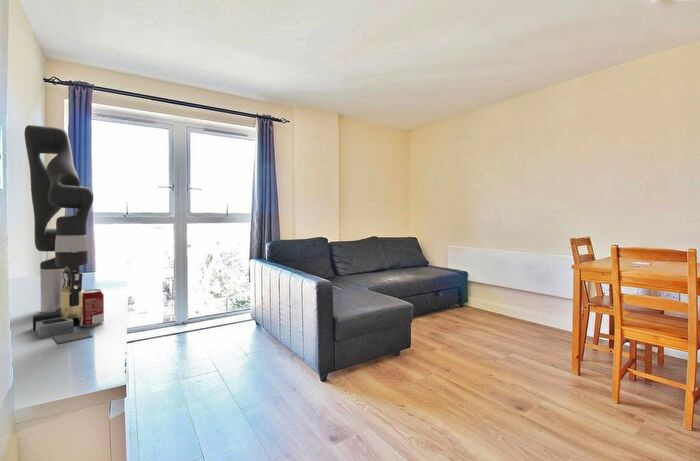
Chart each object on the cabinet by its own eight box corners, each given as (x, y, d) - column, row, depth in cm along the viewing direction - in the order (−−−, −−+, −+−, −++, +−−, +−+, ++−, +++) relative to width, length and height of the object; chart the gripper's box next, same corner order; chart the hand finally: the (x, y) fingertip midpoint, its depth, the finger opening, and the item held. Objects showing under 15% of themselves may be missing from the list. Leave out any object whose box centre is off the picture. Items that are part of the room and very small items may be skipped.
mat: (52, 338, 97) (52, 336, 97) (85, 331, 103) (85, 330, 103) (57, 344, 92) (57, 342, 92) (92, 336, 98) (92, 335, 98)
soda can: (107, 323, 111) (107, 290, 111) (84, 329, 105) (84, 293, 105) (97, 320, 114) (97, 288, 114) (74, 326, 108) (74, 291, 108)
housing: (35, 332, 102) (35, 321, 102) (68, 326, 108) (68, 316, 108) (39, 338, 97) (39, 326, 97) (73, 331, 103) (73, 320, 103)
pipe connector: (35, 309, 111) (90, 302, 121) (35, 324, 111) (90, 316, 121) (32, 317, 102) (92, 309, 112) (33, 333, 102) (92, 323, 113)
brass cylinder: (59, 317, 97) (59, 288, 97) (80, 313, 101) (80, 285, 101) (63, 320, 94) (62, 290, 94) (84, 316, 98) (84, 287, 98)
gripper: (50, 249, 99) (51, 303, 99) (60, 252, 90) (60, 311, 90) (81, 248, 105) (81, 298, 105) (93, 250, 96) (93, 306, 96)
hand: (72, 304), depth 97 cm, fingers closed on brass cylinder, 5 cm apart
